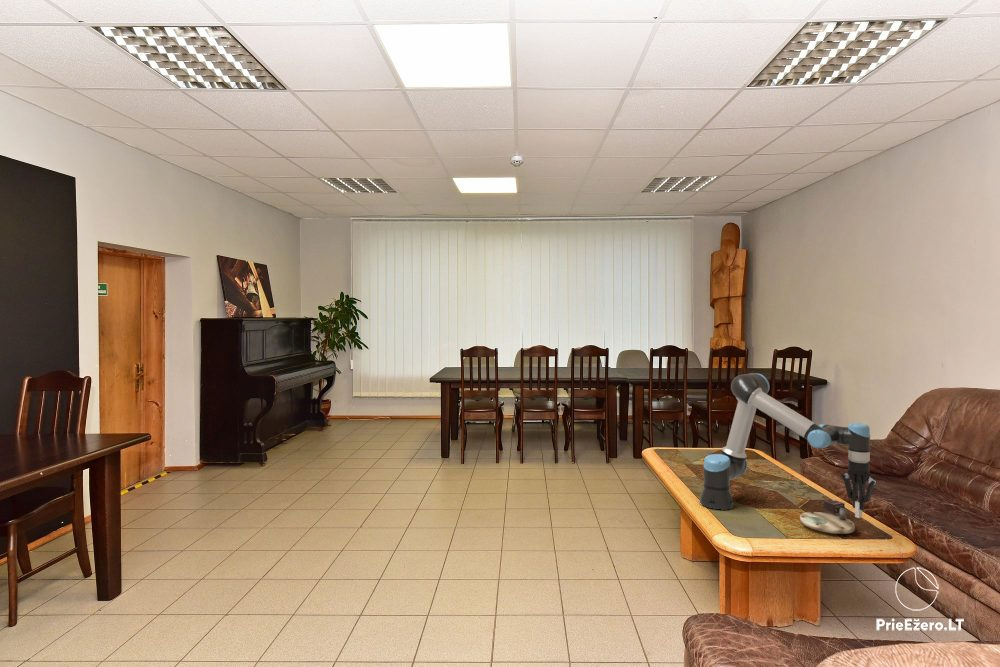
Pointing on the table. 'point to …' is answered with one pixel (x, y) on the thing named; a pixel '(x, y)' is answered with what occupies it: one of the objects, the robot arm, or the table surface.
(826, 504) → the box
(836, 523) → the turntable
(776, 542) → the table surface
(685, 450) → the table surface
